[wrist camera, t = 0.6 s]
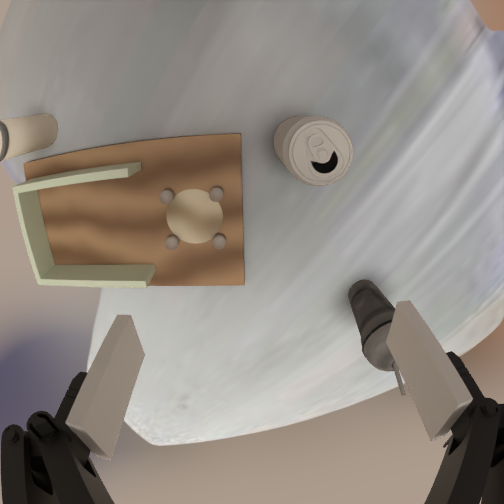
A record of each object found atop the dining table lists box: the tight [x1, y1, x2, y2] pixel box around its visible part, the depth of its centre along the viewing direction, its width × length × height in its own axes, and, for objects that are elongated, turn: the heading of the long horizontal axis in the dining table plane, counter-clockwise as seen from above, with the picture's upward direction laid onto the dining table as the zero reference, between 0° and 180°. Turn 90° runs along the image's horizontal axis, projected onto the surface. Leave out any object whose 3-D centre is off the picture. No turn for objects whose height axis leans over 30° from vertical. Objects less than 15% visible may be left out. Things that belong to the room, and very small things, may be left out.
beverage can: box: [273, 116, 353, 186], centre depth 29 cm, size 6×6×12 cm
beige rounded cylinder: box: [0, 114, 58, 162], centre depth 27 cm, size 5×5×12 cm
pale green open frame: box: [12, 162, 156, 288], centre depth 35 cm, size 15×19×4 cm
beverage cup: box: [349, 280, 406, 396], centre depth 35 cm, size 7×7×20 cm
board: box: [24, 133, 245, 286], centre depth 37 cm, size 20×32×3 cm, turn 91°
